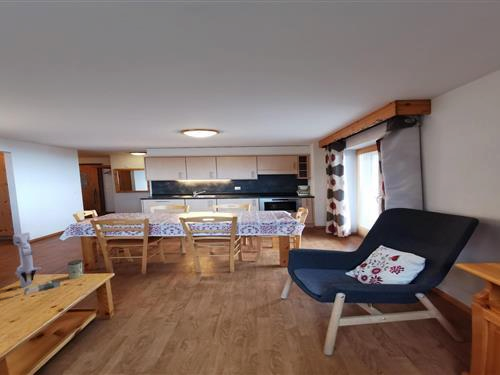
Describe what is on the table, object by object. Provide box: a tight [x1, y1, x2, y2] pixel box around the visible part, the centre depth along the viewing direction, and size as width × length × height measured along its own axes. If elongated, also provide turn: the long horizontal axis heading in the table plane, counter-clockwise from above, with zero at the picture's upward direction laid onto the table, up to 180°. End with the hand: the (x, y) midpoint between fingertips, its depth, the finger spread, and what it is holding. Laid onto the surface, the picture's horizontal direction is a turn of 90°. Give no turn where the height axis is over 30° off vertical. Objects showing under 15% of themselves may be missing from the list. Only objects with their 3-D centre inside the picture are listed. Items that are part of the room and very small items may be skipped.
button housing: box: [44, 283, 55, 291], centre depth 194 cm, size 6×6×2 cm
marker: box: [26, 273, 33, 285], centre depth 188 cm, size 3×3×8 cm
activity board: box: [23, 280, 61, 296], centre depth 195 cm, size 15×22×1 cm
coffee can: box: [67, 259, 84, 280], centre depth 215 cm, size 10×10×14 cm
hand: (29, 280), depth 188 cm, fingers closed on marker, 3 cm apart
